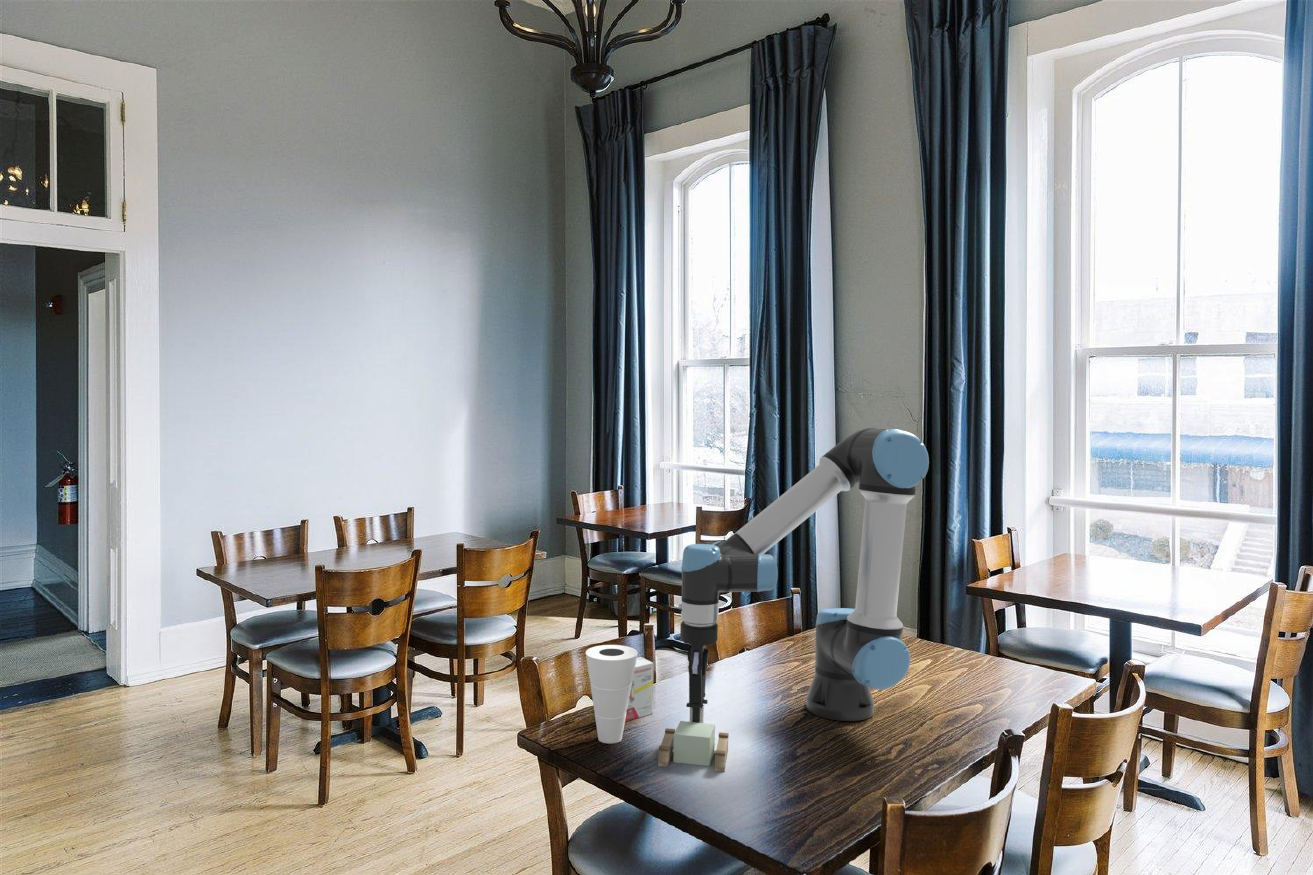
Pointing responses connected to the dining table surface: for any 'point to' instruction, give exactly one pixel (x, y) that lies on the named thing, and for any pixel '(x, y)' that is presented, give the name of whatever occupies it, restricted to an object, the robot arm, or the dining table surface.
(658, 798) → the dining table surface
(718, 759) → the light wood low frame
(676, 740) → the block
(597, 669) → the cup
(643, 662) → the ink box
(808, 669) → the dining table surface
